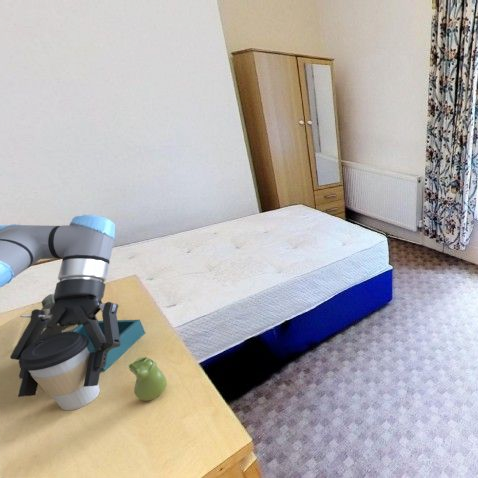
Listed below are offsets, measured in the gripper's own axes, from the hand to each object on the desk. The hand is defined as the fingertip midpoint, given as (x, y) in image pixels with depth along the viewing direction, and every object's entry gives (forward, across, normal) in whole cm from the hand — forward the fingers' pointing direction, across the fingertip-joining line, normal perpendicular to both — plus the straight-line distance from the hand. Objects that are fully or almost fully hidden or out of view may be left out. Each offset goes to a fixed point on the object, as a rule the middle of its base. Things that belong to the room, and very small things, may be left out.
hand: (59, 390), depth 64 cm
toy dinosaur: (-18, +19, -27) cm, 38 cm away
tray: (-9, +5, -17) cm, 20 cm away
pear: (+4, -14, -5) cm, 16 cm away
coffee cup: (+2, 0, -6) cm, 7 cm away
